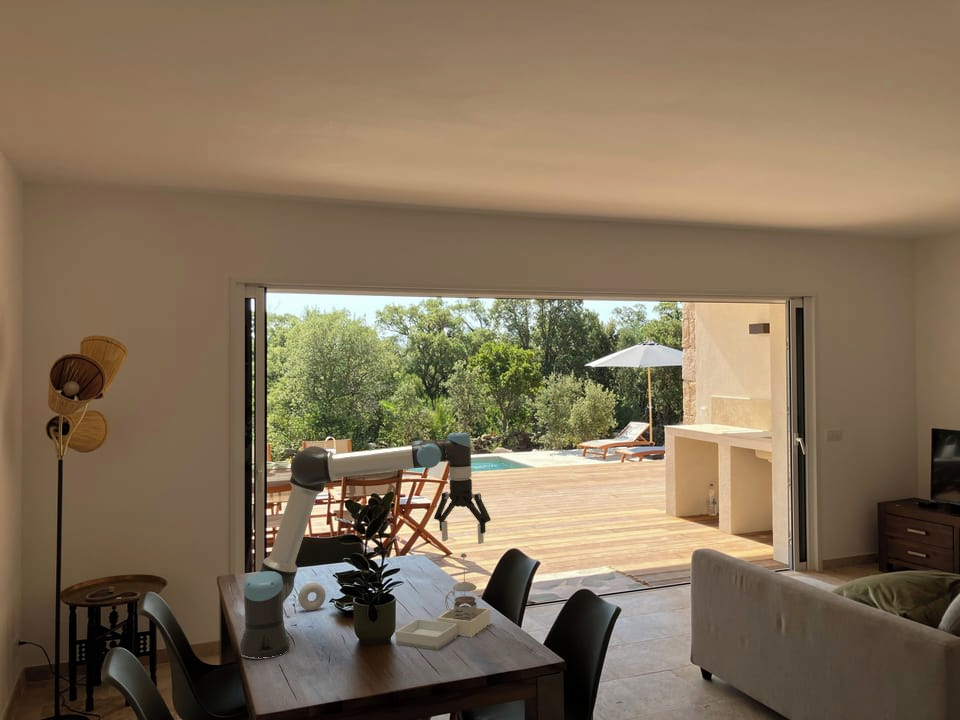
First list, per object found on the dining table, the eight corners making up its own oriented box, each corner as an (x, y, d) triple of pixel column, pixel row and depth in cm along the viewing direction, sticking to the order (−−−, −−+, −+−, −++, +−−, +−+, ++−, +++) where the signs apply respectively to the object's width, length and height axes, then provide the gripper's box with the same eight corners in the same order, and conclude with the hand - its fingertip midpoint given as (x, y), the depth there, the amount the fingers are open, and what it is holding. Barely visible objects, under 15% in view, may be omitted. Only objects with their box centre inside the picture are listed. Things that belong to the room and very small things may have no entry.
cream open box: (471, 637, 246) (471, 621, 246) (437, 632, 252) (436, 617, 252) (490, 623, 259) (490, 608, 259) (457, 619, 265) (457, 605, 265)
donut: (324, 607, 284) (324, 580, 284) (326, 609, 281) (326, 582, 281) (297, 611, 280) (297, 583, 280) (299, 613, 277) (298, 586, 277)
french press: (477, 633, 250) (474, 557, 250) (442, 632, 252) (440, 556, 252) (483, 623, 259) (480, 550, 260) (450, 622, 262) (448, 549, 262)
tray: (437, 650, 235) (437, 637, 235) (395, 643, 242) (395, 631, 242) (457, 636, 248) (457, 623, 248) (417, 630, 254) (417, 618, 254)
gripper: (498, 478, 255) (501, 541, 254) (433, 476, 265) (435, 537, 265) (489, 481, 248) (491, 546, 247) (422, 479, 259) (425, 541, 258)
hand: (462, 542), depth 256 cm, fingers open, 13 cm apart
